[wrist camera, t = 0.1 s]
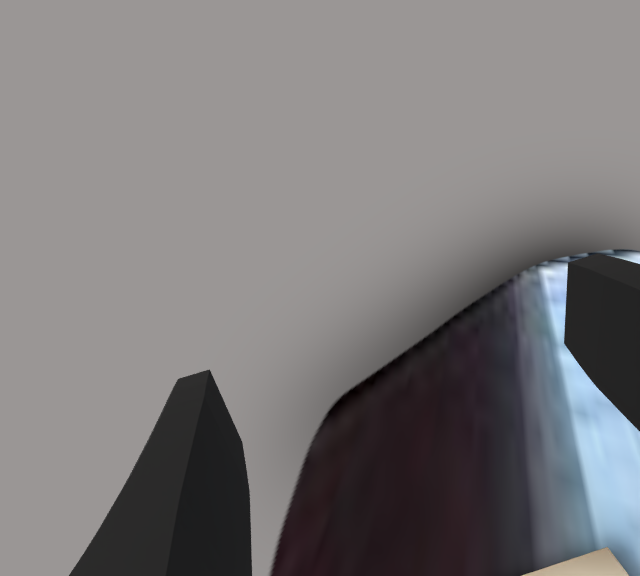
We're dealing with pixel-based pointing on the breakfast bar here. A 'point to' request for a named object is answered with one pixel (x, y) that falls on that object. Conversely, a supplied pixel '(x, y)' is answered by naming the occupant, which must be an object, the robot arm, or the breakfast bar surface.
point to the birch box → (585, 566)
